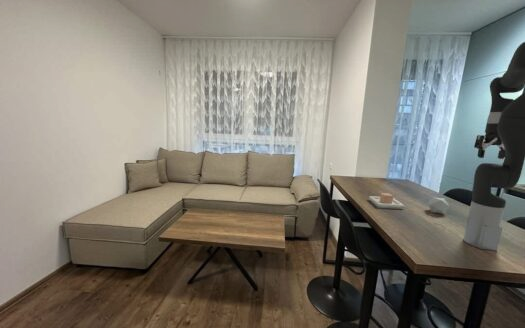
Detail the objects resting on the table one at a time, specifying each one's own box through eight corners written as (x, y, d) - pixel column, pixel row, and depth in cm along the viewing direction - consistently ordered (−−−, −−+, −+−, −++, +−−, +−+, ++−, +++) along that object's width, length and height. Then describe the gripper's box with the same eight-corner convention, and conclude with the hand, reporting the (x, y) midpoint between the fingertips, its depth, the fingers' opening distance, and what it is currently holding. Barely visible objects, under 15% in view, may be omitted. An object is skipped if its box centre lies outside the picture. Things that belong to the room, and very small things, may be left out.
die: (444, 212, 124) (434, 195, 127) (456, 210, 116) (445, 192, 119) (431, 217, 124) (420, 201, 127) (442, 215, 115) (431, 198, 119)
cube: (392, 204, 129) (393, 196, 128) (383, 203, 130) (384, 195, 129) (388, 201, 134) (389, 193, 133) (379, 200, 135) (380, 192, 134)
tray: (403, 209, 125) (404, 205, 124) (378, 207, 126) (378, 203, 125) (391, 201, 138) (392, 197, 138) (369, 199, 140) (369, 196, 139)
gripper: (489, 122, 96) (481, 158, 99) (524, 123, 94) (515, 160, 97) (474, 122, 103) (467, 156, 106) (507, 123, 102) (499, 157, 105)
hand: (490, 158), depth 102 cm, fingers open, 8 cm apart
